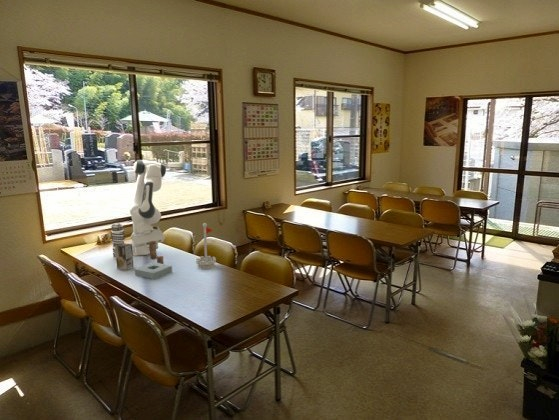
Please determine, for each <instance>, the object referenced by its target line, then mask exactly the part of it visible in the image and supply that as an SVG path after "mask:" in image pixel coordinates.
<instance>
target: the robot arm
mask: <svg viewBox="0 0 559 420" xmlns="http://www.w3.org/2000/svg"><path fill="white" fill-rule="evenodd" d="M133 171H134V173H135V175H137V179H136V183H135V189H134V193H133V196H132V200H131V203H130V204H131V205H130V207H129V210H130V211H129V213H130V215H131V220H132V234H131V235H130V238H131V240H129V241H128V243H126V244H132V253H133V257H135V256H136V257H137V256H145V255H146V256H147V255H150V250H151V249H150V247H149V242H151V241H155V242H156V250H158V249H159V245H158V244H159V243H163V242H165V239H166V237H165V235H164V233H163V231H162V230H160V227H159V226H158V225H154V224H156V223H158V222H159V221H160V220H161V218H162V213H161V211H160V210H159V209H157V207H156V206H155V205H154V204H153V195H154V193H155V192H159V190H161V187H162V183H163V181H162V179H163V178H164V177H165V175H166V173H167V167H166V164H164V163H161V162H156V161H153V160H151V161H150V160H142V159H137V160H136V161H135V162H134V164H133Z"/></svg>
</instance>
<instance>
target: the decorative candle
mask: <svg viewBox="0 0 559 420" xmlns="http://www.w3.org/2000/svg"><path fill="white" fill-rule="evenodd" d="M110 227H111V231H110V236H111V242H112V243H111V244H112V257H113V260H116V250H115V245H118V244H120V243H125V240H126V239H125V231H124V225H123V224H122V223H120V222H115V223H112V224H111V226H110Z"/></svg>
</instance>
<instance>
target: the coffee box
mask: <svg viewBox="0 0 559 420" xmlns="http://www.w3.org/2000/svg"><path fill="white" fill-rule="evenodd" d="M115 250H116V259H115V260H116V269H119V270H120V269H121V270H124V271H125V270H127V271H128V270H130V269H133V268H134V256H133V253H132V244H127V243H125V242H124V243H120V244H118V245H115Z"/></svg>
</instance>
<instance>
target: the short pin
mask: <svg viewBox="0 0 559 420" xmlns="http://www.w3.org/2000/svg"><path fill="white" fill-rule="evenodd" d="M156 261H157V262H156V263H161V264H164V256H163V255H158V256H157V259H156Z"/></svg>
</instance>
